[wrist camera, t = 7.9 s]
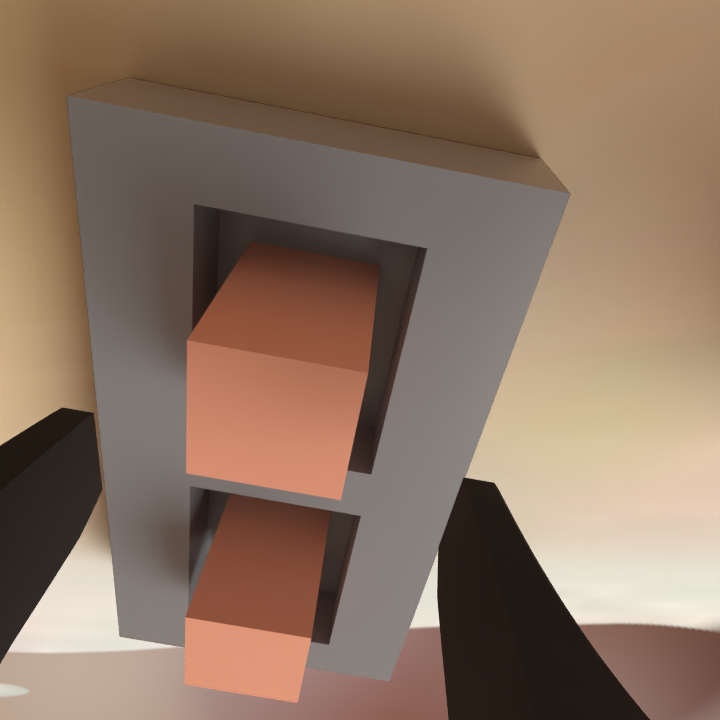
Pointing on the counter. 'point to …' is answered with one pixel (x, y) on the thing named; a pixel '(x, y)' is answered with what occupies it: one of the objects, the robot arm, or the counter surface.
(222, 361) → the plug
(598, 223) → the counter surface
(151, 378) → the dock
